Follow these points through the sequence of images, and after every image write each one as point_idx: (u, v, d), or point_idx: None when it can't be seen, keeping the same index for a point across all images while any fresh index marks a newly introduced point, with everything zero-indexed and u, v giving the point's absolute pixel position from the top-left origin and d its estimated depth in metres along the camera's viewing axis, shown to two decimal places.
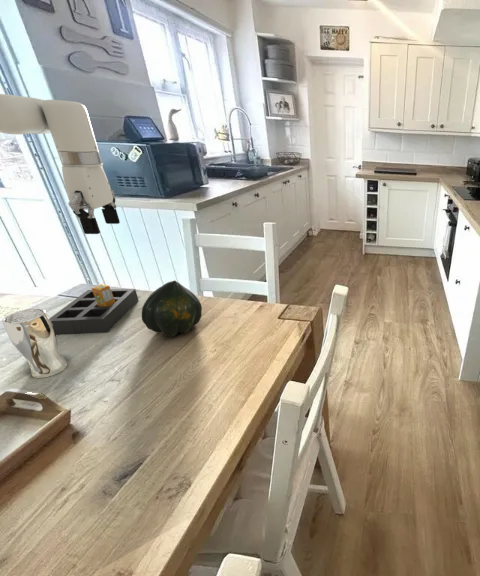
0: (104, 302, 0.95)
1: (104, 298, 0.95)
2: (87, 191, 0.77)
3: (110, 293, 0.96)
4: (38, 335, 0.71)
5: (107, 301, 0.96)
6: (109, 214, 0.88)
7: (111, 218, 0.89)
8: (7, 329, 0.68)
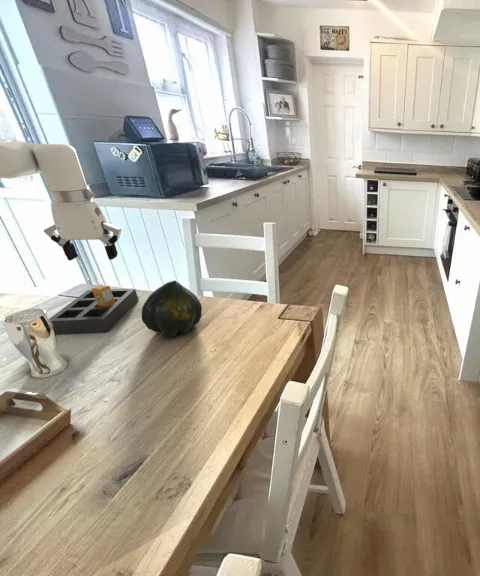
0: (104, 302, 0.95)
1: (104, 298, 0.95)
2: (55, 223, 0.84)
3: (110, 293, 0.96)
4: (38, 335, 0.71)
5: (107, 301, 0.96)
6: None
7: None
8: (7, 329, 0.68)
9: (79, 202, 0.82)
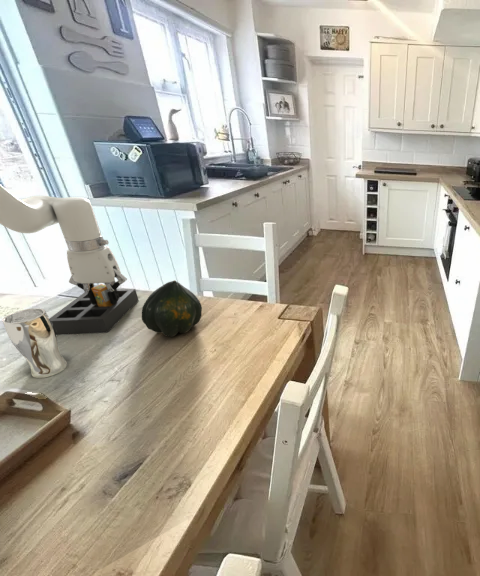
0: (104, 302, 0.95)
1: (104, 298, 0.95)
2: (70, 269, 0.89)
3: None
4: (38, 335, 0.71)
5: (107, 301, 0.96)
6: None
7: None
8: (7, 329, 0.68)
9: (93, 250, 0.88)
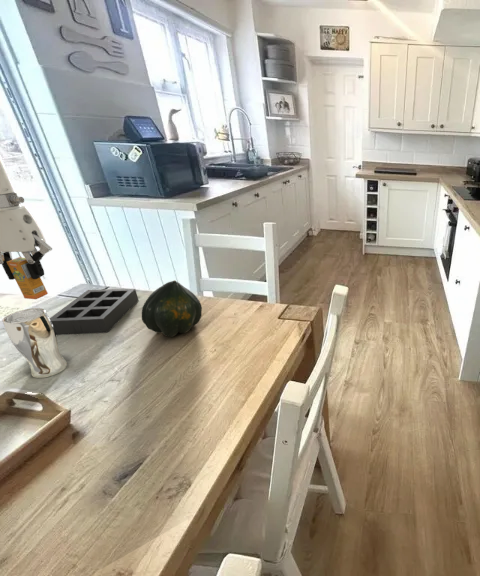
0: (26, 278, 0.77)
1: (26, 274, 0.77)
2: None
3: None
4: (38, 335, 0.71)
5: (31, 278, 0.78)
6: None
7: None
8: (7, 329, 0.68)
9: (2, 208, 0.70)
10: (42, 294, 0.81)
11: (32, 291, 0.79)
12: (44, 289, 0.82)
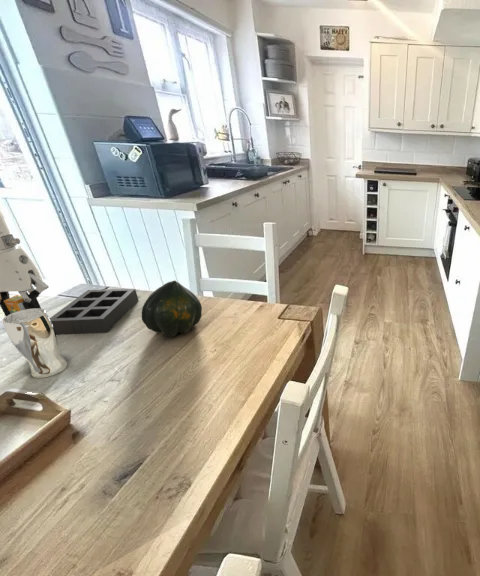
0: None
1: None
2: None
3: None
4: (38, 335, 0.71)
5: None
6: None
7: None
8: (7, 329, 0.68)
9: None
10: None
11: None
12: None
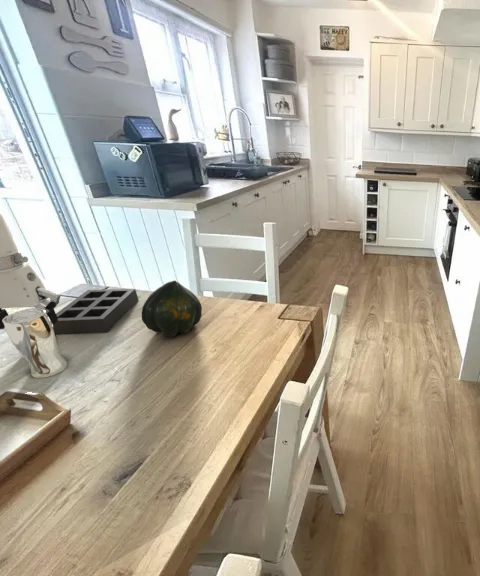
0: None
1: None
2: None
3: None
4: (38, 335, 0.71)
5: None
6: None
7: None
8: (7, 329, 0.68)
9: (7, 269, 0.72)
10: None
11: None
12: None
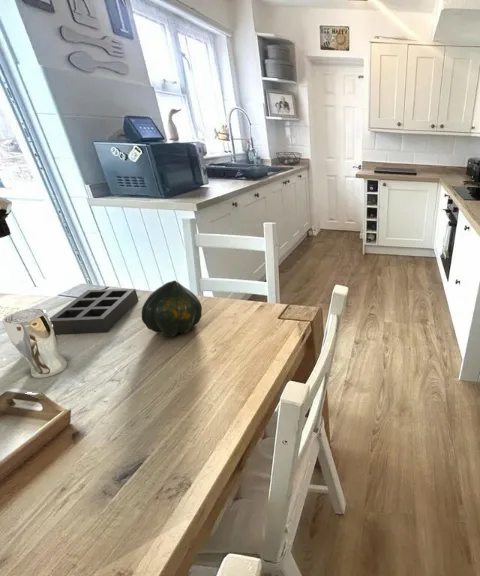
0: None
1: None
2: None
3: None
4: (38, 335, 0.71)
5: None
6: None
7: None
8: (7, 329, 0.68)
9: None
10: None
11: None
12: None
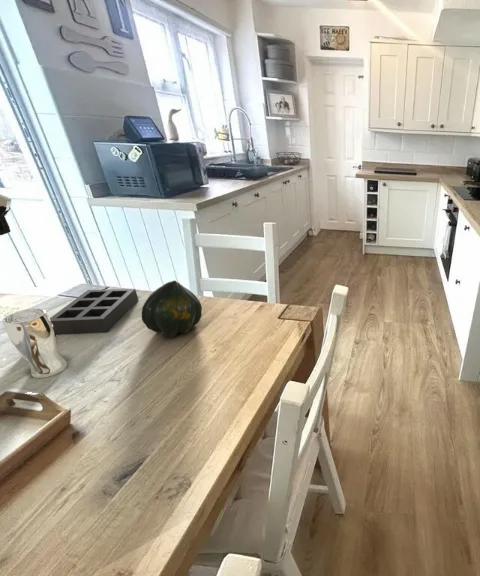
0: None
1: None
2: None
3: None
4: (38, 335, 0.71)
5: None
6: None
7: None
8: (7, 329, 0.68)
9: None
10: None
11: None
12: None
